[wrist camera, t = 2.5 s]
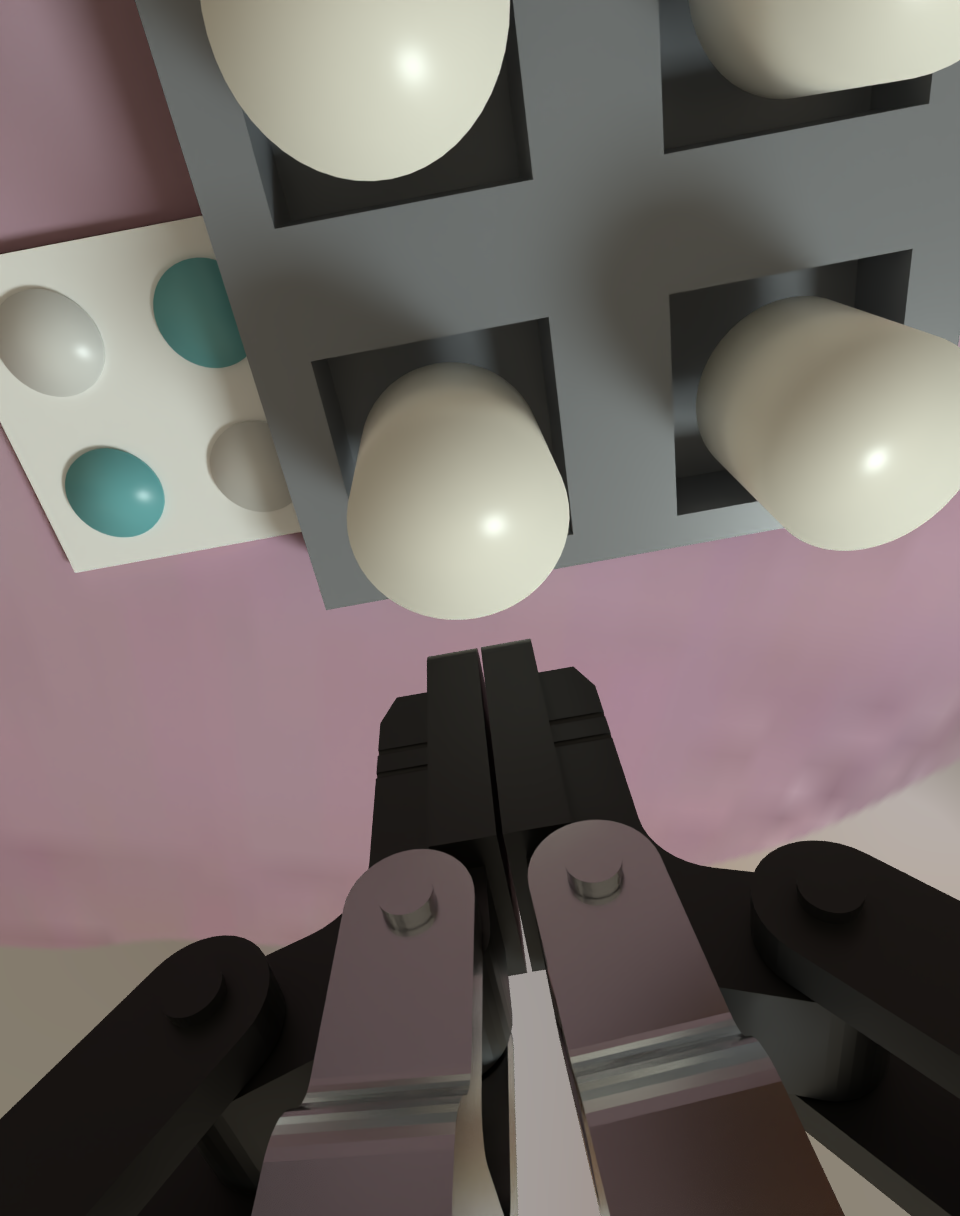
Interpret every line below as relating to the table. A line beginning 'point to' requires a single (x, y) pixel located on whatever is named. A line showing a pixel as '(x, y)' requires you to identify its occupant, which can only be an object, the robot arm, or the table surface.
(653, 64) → the board
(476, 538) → the button
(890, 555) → the table surface
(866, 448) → the button
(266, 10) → the button
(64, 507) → the card
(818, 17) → the button
